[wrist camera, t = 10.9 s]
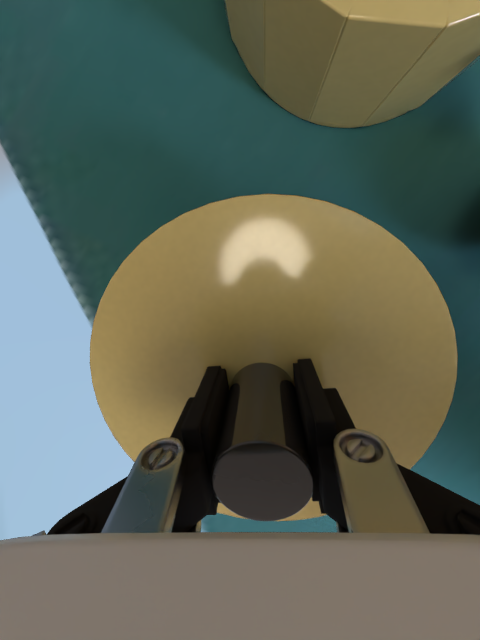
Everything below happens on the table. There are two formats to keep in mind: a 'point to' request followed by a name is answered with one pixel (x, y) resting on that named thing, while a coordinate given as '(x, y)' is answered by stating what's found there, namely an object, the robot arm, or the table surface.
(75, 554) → the robot arm
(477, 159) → the table surface
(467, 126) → the table surface
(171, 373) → the lid
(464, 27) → the pot
